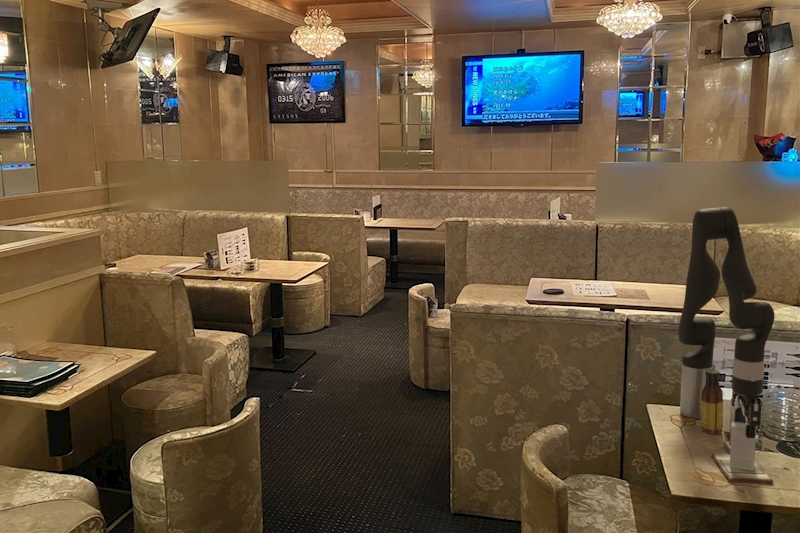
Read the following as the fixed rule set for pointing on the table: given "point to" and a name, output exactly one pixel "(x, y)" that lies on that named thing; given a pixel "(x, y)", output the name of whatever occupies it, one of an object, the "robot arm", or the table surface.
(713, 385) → the sauce bottle
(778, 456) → the table surface
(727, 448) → the button housing
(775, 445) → the table surface
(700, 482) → the table surface
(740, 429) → the skincare box
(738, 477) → the beige flat rectangular slab
